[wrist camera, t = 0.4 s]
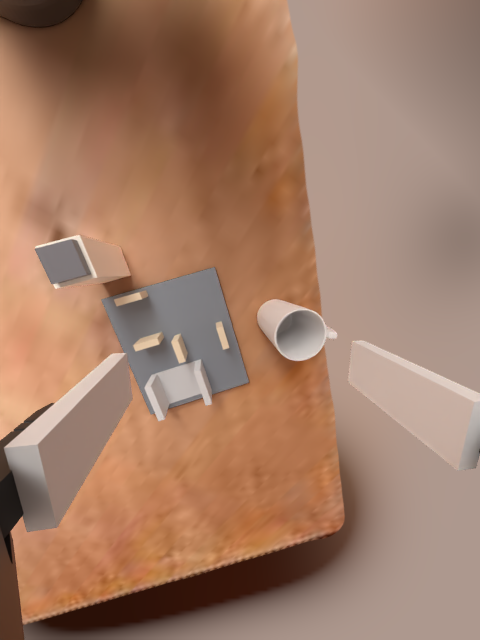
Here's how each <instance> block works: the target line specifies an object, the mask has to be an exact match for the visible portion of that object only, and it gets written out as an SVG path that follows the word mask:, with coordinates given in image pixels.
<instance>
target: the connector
mask: <svg viewBox="0 0 480 640" xmlns="http://www.w3.org/2000/svg"><path fill="white" fill-rule="evenodd" d="M35 247H36V249H35V251H36V253H37V255H38V257H39V259H40V261H41V263H42V265H43V267H44V269H45V272H46V274H47V276H48V278H49V280H50V282H51V284H53V285H54V287H55V289H60V288H69V287H77V286H86V285H95V284H103V283H106V282H110V281H113V280H117V279H121V278H124V277H128V276H131V273H130V271H129V268H128V266H127V263H126V261H125V258H124V255H123V253H122V250H121V248H120V246H118V245H114V244H110V243H107V242H103V241H100V240H96V239H93V238H89V237H86V236H82V235H77V236H73V237H69V238H65V239H61V240H58V241H54V242H50V243H46V244H43V245H39V246H35Z"/></svg>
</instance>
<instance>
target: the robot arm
mask: <svg viewBox="0 0 480 640" xmlns="http://www.w3.org/2000/svg"><path fill="white" fill-rule="evenodd" d="M81 2H82V0H0V16H2V17H4V18H6V19H8V20H10V21H13V22H15V23H18V24H21V25H26V26H32V27H45V26H51V25H54V24H57V23H59V22H62V21H63V20H65V19H67V18H68V17H69V16H70V15H71V14H73V13H74V11H75V10H76V9H77V8H78V6H79V5H80V3H81ZM348 383H350V384H351V385H352V386H353V387H355V388H356V389H357V390H358V391H359V392H361V393H362V394H363V395H364V396H366V397H367V398H368V399H369V400H371V401H372V402H373V403H374V404H376V405H377V406H378V407H380V408H381V409H382V410H383V411H384V412H385V413H387V414H388V415H389V416H391V417H392V418H393V419H394V420H395V421H397V422H398V423H399V424H400V425H402V426H403V427H404V428H405V429H407V430H408V431H409V432H410V433H412V434H413V435H414V436H415V437H416V438H418V439H419V440H420V441H422V442H423V443H424V444H425V445H426V446H428V447H429V448H430V449H431V450H433V451H434V452H435V453H436V454H438V455H439V456H440V457H441V458H443V459H444V460H445V461H446V462H448V463H449V464H450V465H451V466H453V467H454V468H455V469H456V470H457V471H459V470H466V469H473V468H476V466H477V462H478V458H479V454H480V393H477V392H475V391H473V390H471V389H469V388H466V387H464V386H462V385H460V384H458V383H456V382H453V381H451V380H449V379H447V378H445V377H442V376H440V375H438V374H436V373H434V372H432V371H429V370H427V369H425V368H423V367H421V366H418V365H416V364H414V363H412V362H410V361H408V360H405V359H403V358H401V357H399V356H397V355H394V354H392V353H390V352H388V351H385V350H383V349H381V348H379V347H377V346H375V345H372V344H370V343H368V342H366V341H363V340H362V341H352V347H351V356H350V366H349V375H348ZM132 399H133V398H132V390H131V382H130V374H129V365H128V357H127V353H114V354H111V355H110V356H109V357H107V358H106V359H105V360H104V361H103V362H102V363H101V364H99V365H98V366H97V367H96V368H95V369H94V370H92V371H91V372H90V373H89V374H88V375H87V376H86V377H84V378H83V379H82V380H81V381H80V382H79V383H78V384H76V385H75V386H74V387H73V388H72V389H71V390H70V391H68V392H67V393H66V394H65V395H64V396H63V397H62V398H60V399H59V400H58V401H57V402H56V403H51V404H49V405H47V406H45V407H43V408H42V409H40V410H38V411H36V412H35V413H33V414H32V415H31V416H30V417H29V418H27V419H26V420H25V421H24V423H21V424H20V425H19V426H18V427H16V428H15V429H14V431H13V432H10V433H9V434H8V435H7V436H6V437H4V438H3V439H2V440H1V441H0V640H24V632H23V623H22V615H21V606H20V597H19V589H18V580H17V571H16V562H15V554H14V545H13V539H12V536H11V532H10V531H11V530H12V529H13V527H14V526H15V525H16V523H17V522H18V521H19V519H20V518H21V517H22V516H23V519H24V523H25V527H26V530H27V532H31V531H38V530H45V529H52V528H57V527H58V525H59V524H60V522H61V520H62V518H63V517H64V515H65V513H66V512H67V510H68V508H69V506H70V505H71V503H72V501H73V500H74V498H75V496H76V495H77V493H78V491H79V489H80V488H81V486H82V484H83V483H84V481H85V479H86V477H87V476H88V474H89V472H90V471H91V469H92V467H93V466H94V464H95V462H96V460H97V459H98V457H99V455H100V454H101V452H102V450H103V448H104V447H105V445H106V443H107V442H108V440H109V438H110V436H111V435H112V433H113V431H114V430H115V428H116V426H117V425H118V423H119V421H120V419H121V418H122V416H123V414H124V413H125V411H126V409H127V407H128V406H129V404H130V402H131V401H132Z"/></svg>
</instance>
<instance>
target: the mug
mask: <svg viewBox="0 0 480 640" xmlns="http://www.w3.org/2000/svg"><path fill="white" fill-rule="evenodd" d="M257 322H258V325H259V327H260V328H261V330H262V331H263V332H264V334H265V335H266V336H267V337H268V339H269V340H270V341H271V342H272V344H273V345H274V346H275V347H276V349H277V350H278V351H279V352H280V353H281V354H282V355H283V356H284V357H286V358H287V359H290V360H293V361H303V360H307V359H309V358H311V357H313V356H315V355H316V354H317V353H318V352H319V351H320V350H321V349H322V347H323V345H324V343H325V341H326V338H328V339H336V338H337V333H336V332H335V331H334V330H333V329H331V328H330V327H328V326H326V324H325V323H324V320H323V319H322V317H321V316H320V315H319V314H318V313H316V312H314V311H312V310H309V309H307V308H304V307H301V306H298V305H295V304H292V303H289V302H286V301H282V300H278V299H272V300H269V301H267V302H265V303H264V304H263V305H262V306H261V307H260V308H259V310H258V313H257Z"/></svg>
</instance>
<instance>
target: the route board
mask: <svg viewBox="0 0 480 640" xmlns="http://www.w3.org/2000/svg"><path fill="white" fill-rule="evenodd" d="M102 303H103V305H104V307H105V310H106V312H107V314H108V317H109V319H110V321H111V323H112V326H113V328H114V330H115V333H116V335H117V337H118V340H119V342H120V344H121V347H122V349H123V351H124V353H127V357H128V363H129V365H130V367H131V370H132V372H133V374H134V377H135V379H136V381H137V383H138V386H139V388H140V390H141V393H142V395H143V397H144V400H145V402H146V404H147V407H148V409H149V411H150V413H151V414H154V413H155V414H156V417H157V419H158V421H161V420H164V419H165V417H166V414H167V410H168V409H169V408H173V407H176V406H179V405H182V404H185V403H188V402H191V401H194V400H197V399H200V398H203V399H204V402H205V405H206V406H207V405H210V404H212V394H215V393H218V392H222V391H225V390H228V389H231V388H234V387H237V386H240V385H243V384H246V383H249V380H248V377H247V374H246V370H245V367H244V364H243V360H242V357H241V354H240V350H239V347H238V344H237V340H236V337H235V333H234V330H233V327H232V323H231V320H230V317H229V313H228V310H227V307H226V303H225V300H224V297H223V293H222V290H221V286H220V283H219V280H218V276H217V273H216V270H215V267H213V268H210V269H206V270H203V271H199V272H196V273H192V274H189V275H185V276H182V277H178V278H175V279H171V280H168V281H164V282H161V283H157V284H154V285H150V286H147V287H143V288H140V289H136V290H133V291H129V292H126V293H122V294H119V295H115V296H112V297H109V298H105V299H102Z"/></svg>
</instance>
